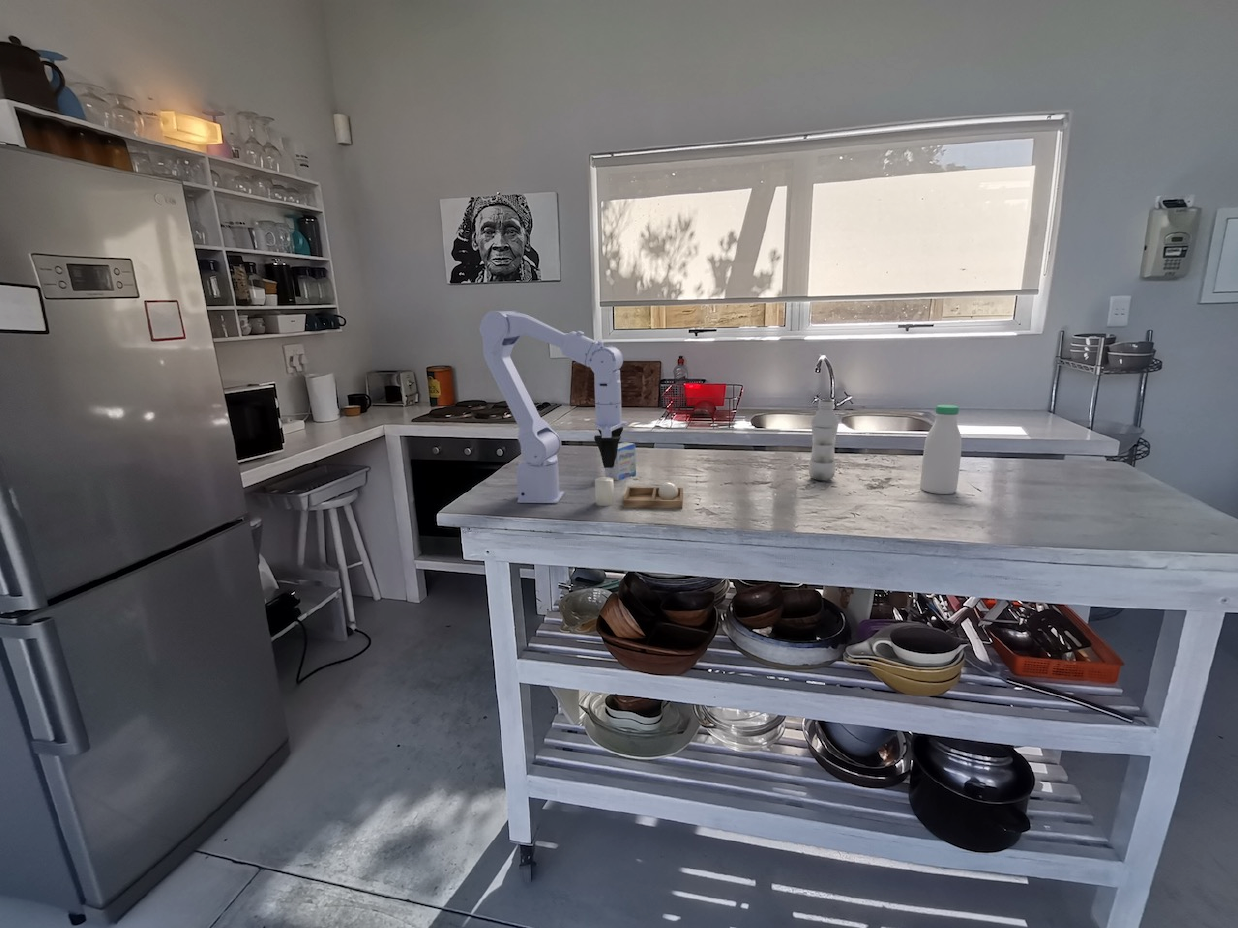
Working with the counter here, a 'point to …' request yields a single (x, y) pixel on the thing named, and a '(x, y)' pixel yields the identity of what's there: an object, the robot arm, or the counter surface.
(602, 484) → the white rounded block
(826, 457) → the plastic bottle
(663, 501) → the caddy
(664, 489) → the ceramic egg
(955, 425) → the milk bottle
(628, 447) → the medicine box
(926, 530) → the counter surface
